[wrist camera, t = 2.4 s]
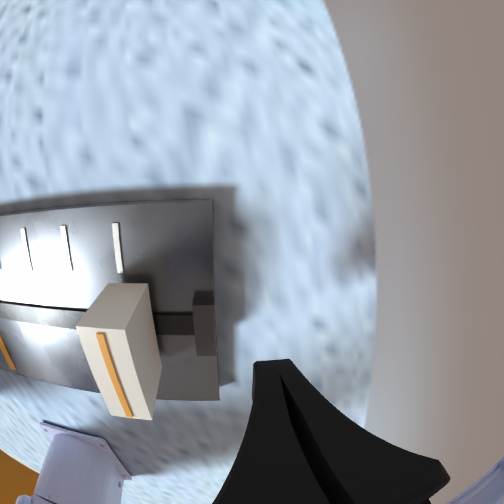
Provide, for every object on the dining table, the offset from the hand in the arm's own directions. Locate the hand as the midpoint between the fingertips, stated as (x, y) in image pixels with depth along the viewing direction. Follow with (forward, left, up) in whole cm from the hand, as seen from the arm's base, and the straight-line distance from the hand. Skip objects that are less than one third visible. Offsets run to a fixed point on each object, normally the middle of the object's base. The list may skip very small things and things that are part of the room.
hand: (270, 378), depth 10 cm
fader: (0, +6, -4) cm, 7 cm away
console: (0, +14, -6) cm, 15 cm away
